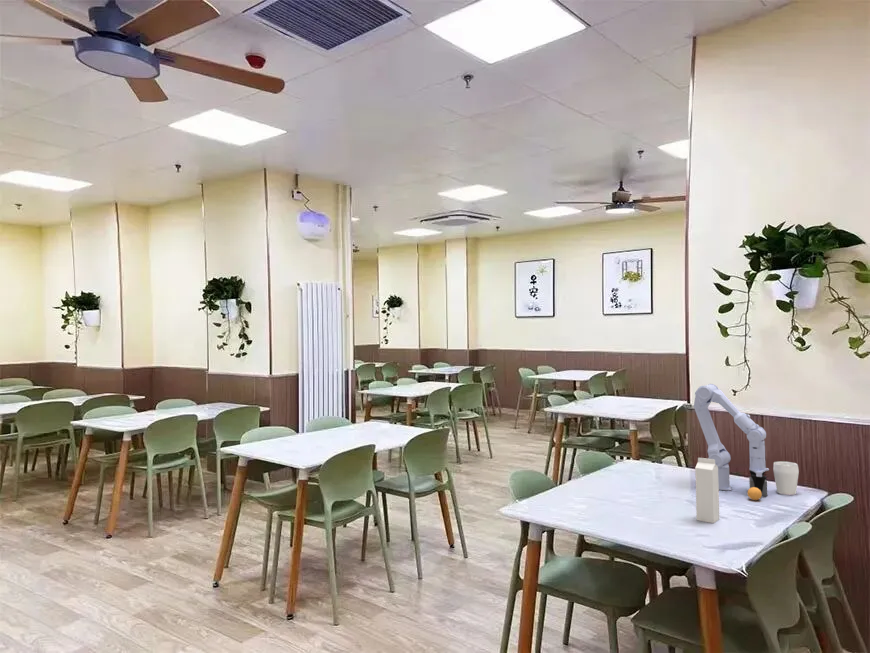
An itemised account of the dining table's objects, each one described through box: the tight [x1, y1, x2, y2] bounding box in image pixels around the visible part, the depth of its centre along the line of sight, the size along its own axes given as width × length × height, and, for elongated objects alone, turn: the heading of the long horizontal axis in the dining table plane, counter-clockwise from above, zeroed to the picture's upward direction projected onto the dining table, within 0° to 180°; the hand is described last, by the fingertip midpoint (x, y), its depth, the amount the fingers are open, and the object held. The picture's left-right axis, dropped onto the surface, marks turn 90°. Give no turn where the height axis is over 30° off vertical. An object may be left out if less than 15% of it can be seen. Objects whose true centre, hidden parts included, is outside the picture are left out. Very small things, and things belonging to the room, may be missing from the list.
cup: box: [772, 460, 800, 496], centre depth 248 cm, size 9×9×12 cm
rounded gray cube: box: [748, 476, 768, 497], centre depth 247 cm, size 6×6×6 cm
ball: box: [747, 487, 763, 501], centre depth 239 cm, size 5×5×5 cm
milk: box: [694, 457, 720, 524], centre depth 217 cm, size 6×6×22 cm
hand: (758, 490), depth 247 cm, fingers closed on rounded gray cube, 6 cm apart
